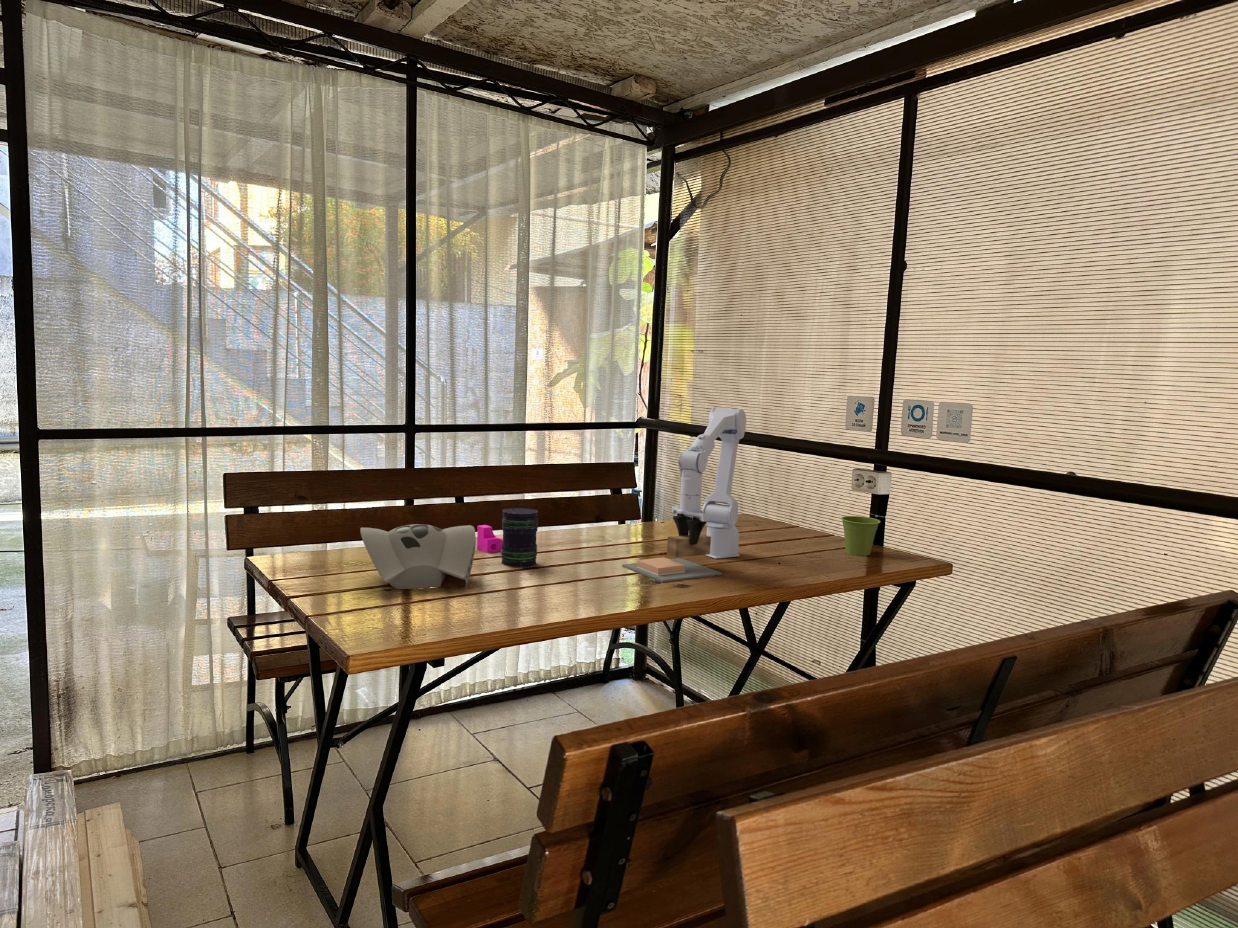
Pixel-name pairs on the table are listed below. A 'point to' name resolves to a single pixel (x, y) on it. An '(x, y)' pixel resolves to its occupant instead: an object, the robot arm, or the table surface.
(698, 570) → the slate mat
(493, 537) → the toy block
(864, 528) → the plant pot
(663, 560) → the tile
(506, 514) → the storage jar
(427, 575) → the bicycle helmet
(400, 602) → the table surface
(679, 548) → the brown wooden block
